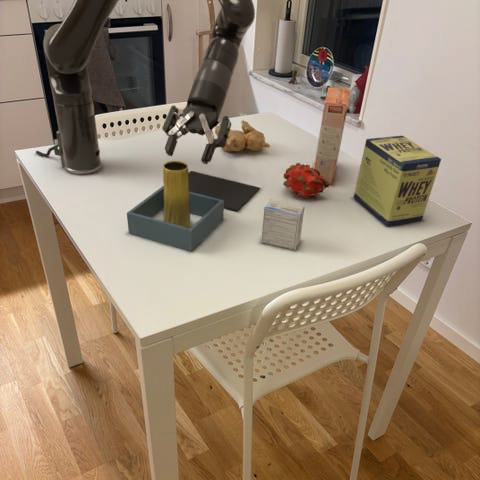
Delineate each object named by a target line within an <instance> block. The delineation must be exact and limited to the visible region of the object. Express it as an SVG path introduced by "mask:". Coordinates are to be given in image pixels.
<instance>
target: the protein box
mask: <svg viewBox="0 0 480 480" xmlns="http://www.w3.org/2000/svg"><path fill="white" fill-rule="evenodd" d="M441 162H442V158H440V157H439V156H438V155H436V154H434V153H432V152H430V151H428V150H427V149H425V148H424V147H422V146H421V145H418V144H417V143H416V142H414V141H413V140H410V139H409V138H407V137H406V136H404V135H394V136H392V135H391V136H383V137H372V138H365V143H364V148H363V153H362V157H361V162H360V166H359V171H358V176H357V180H356V185H355V189H354V192H353V193H354V194H353V199H354V200H355V201H356V202H357V203H359V204H360V205H361V206H362V207H363V208H365V209H366V210H367V211H368V212H369V213H370V214H371V215H373V217H375V218H376V219H377V220H378V221H379V222H381V224H383V225H384V226H385V227H392V226H397V225H402V224H403V225H404V224H409V223H410V224H411V223H415V222H421V221H423V218H424V215H425V212H426V209H427V206H428V203H429V199H430V196H431V192H432V190H433V188H434V187H433V186H434V183H435V180H436V177H437V174H438V171H439V167H440V164H441Z"/></svg>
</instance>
